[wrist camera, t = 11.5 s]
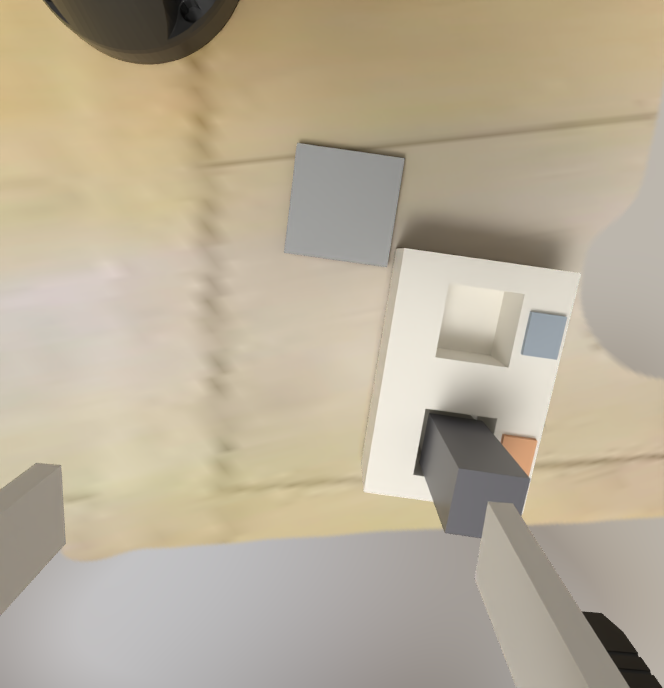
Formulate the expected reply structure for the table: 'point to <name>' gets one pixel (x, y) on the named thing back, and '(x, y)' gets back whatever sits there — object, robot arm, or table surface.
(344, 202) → the mat
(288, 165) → the table surface
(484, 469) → the grey tall block
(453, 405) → the socket block
